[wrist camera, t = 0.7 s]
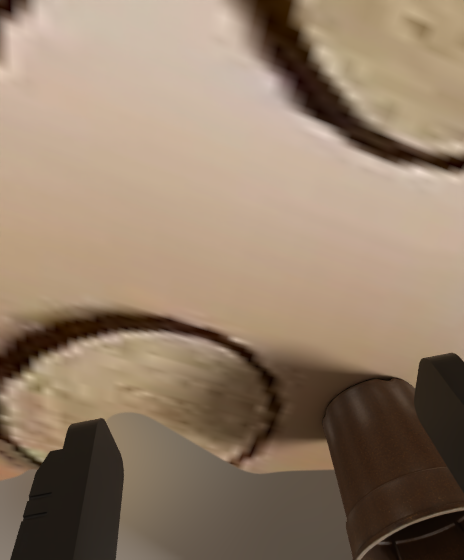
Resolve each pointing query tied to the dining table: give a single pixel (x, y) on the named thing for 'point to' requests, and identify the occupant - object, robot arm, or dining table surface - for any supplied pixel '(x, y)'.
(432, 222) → the dining table surface
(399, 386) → the plant pot
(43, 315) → the dining table surface
